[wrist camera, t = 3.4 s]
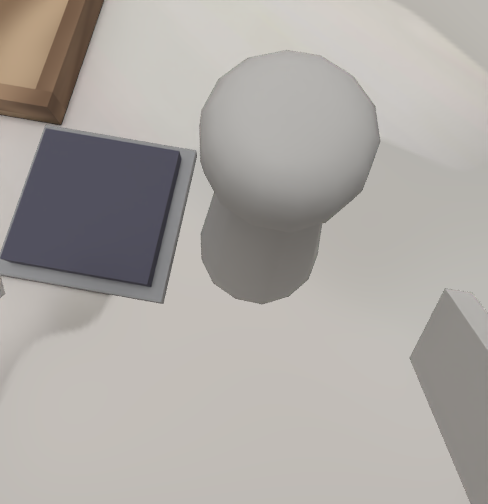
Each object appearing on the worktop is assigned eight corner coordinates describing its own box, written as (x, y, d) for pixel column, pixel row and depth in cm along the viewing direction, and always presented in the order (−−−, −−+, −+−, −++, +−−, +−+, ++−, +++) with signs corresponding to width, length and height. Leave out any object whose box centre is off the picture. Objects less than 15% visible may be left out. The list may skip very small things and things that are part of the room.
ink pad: (196, 155, 22) (194, 142, 20) (163, 303, 19) (157, 300, 18) (50, 130, 22) (37, 115, 20) (0, 275, 20) (-19, 269, 18)
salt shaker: (284, 325, 19) (379, 290, 7) (187, 283, 20) (107, 176, 7) (321, 230, 21) (458, 54, 8) (230, 192, 21) (226, -30, 9)
